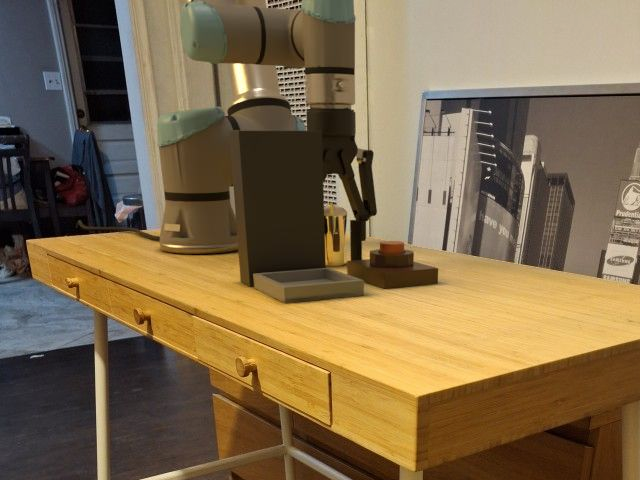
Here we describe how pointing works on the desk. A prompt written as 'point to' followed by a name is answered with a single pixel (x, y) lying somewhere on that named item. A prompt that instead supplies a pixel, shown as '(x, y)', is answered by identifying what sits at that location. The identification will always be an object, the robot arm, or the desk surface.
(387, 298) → the desk surface
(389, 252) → the brew button
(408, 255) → the panel
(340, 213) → the milkshake
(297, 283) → the coffee maker
